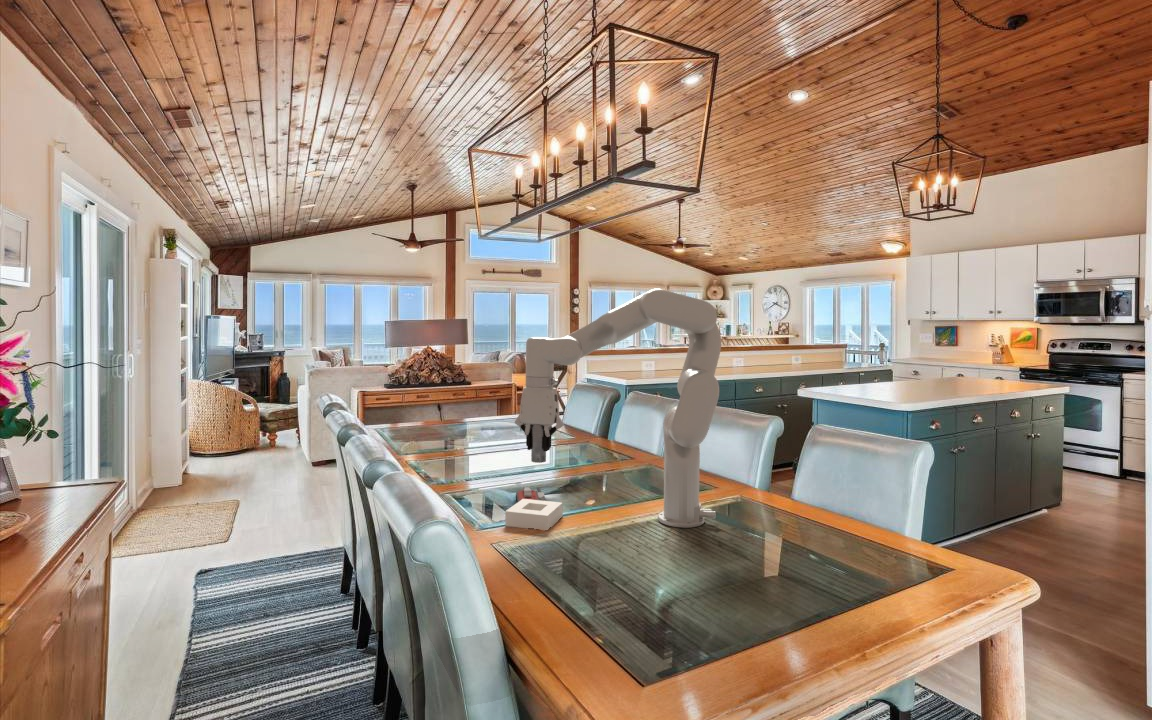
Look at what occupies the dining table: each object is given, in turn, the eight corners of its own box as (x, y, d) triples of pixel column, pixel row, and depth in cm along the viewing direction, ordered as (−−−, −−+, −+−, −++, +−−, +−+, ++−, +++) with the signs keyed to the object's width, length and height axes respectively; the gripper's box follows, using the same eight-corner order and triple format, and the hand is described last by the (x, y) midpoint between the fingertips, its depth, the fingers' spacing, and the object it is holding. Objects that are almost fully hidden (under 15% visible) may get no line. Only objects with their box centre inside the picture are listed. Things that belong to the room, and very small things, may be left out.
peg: (548, 460, 164) (548, 416, 163) (542, 463, 160) (543, 418, 160) (534, 458, 165) (535, 415, 165) (528, 461, 162) (529, 417, 161)
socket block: (562, 516, 167) (562, 502, 167) (547, 530, 156) (547, 515, 156) (523, 512, 171) (523, 498, 171) (505, 525, 160) (505, 511, 159)
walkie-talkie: (547, 511, 173) (541, 492, 193) (547, 496, 173) (541, 478, 193) (517, 512, 172) (514, 493, 192) (517, 497, 172) (514, 479, 191)
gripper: (573, 383, 163) (572, 449, 164) (516, 380, 168) (516, 444, 169) (564, 385, 155) (562, 455, 157) (505, 382, 161) (504, 450, 162)
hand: (538, 449), depth 163 cm, fingers closed on peg, 4 cm apart
